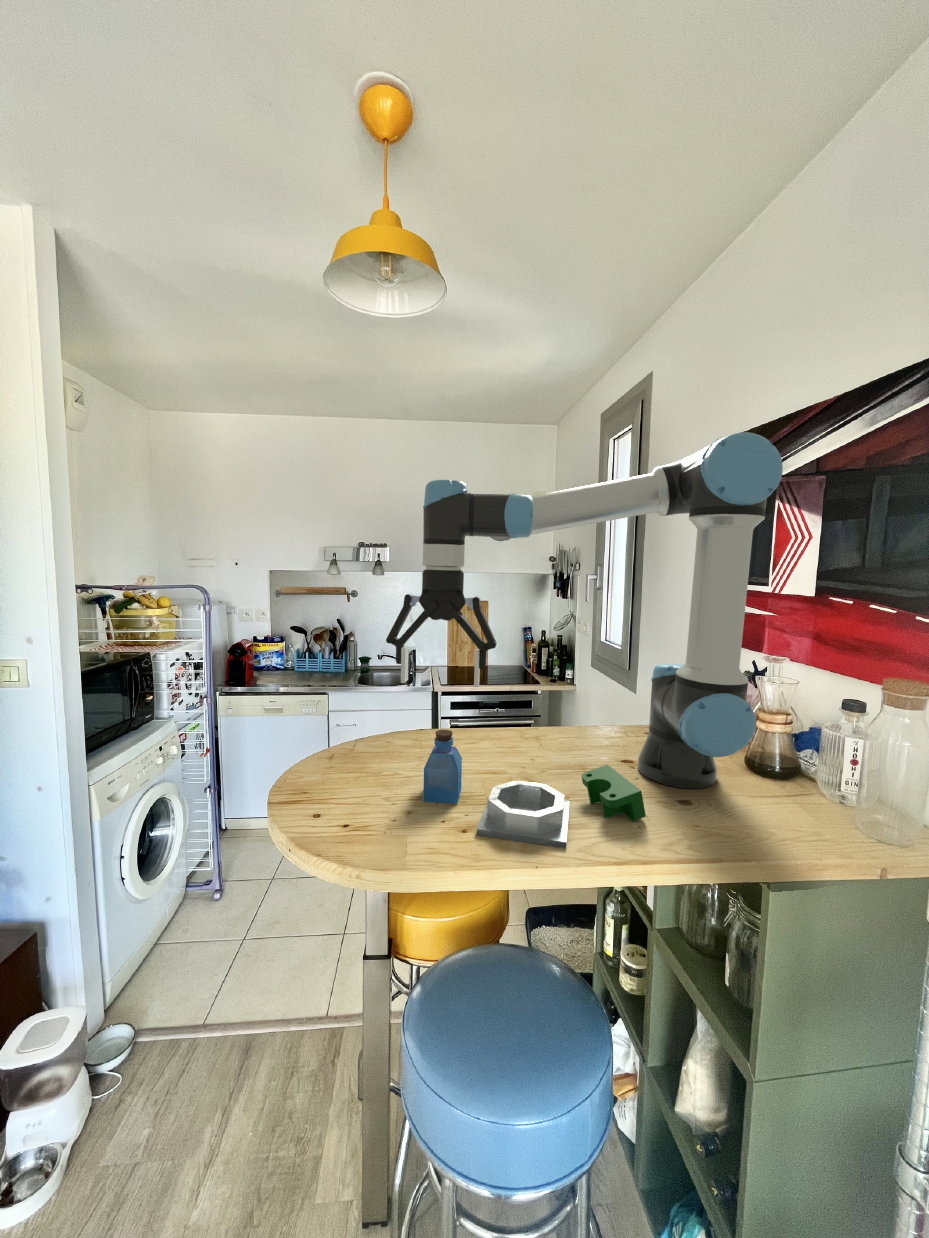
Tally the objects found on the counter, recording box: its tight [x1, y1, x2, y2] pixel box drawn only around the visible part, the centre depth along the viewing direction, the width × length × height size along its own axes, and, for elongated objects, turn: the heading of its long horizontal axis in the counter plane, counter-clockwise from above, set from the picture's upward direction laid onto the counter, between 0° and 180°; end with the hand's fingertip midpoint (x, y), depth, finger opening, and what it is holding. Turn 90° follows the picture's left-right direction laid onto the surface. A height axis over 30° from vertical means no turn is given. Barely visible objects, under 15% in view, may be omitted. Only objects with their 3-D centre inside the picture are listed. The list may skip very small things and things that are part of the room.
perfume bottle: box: [422, 729, 463, 805], centre depth 95 cm, size 6×6×12 cm
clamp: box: [580, 764, 646, 822], centre depth 91 cm, size 12×6×9 cm, turn 8°
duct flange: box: [475, 779, 571, 849], centre depth 87 cm, size 14×14×4 cm
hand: (440, 683), depth 96 cm, fingers open, 13 cm apart
